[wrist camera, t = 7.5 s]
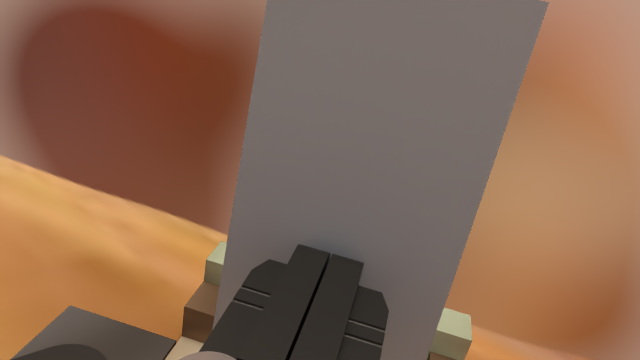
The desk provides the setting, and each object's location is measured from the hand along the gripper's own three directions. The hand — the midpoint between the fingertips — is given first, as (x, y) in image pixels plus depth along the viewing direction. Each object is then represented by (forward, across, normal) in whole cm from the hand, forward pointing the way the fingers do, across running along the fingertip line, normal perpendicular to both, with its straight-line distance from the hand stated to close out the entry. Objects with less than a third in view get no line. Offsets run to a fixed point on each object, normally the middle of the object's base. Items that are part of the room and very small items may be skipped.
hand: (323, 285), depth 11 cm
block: (+2, 0, +7) cm, 7 cm away
